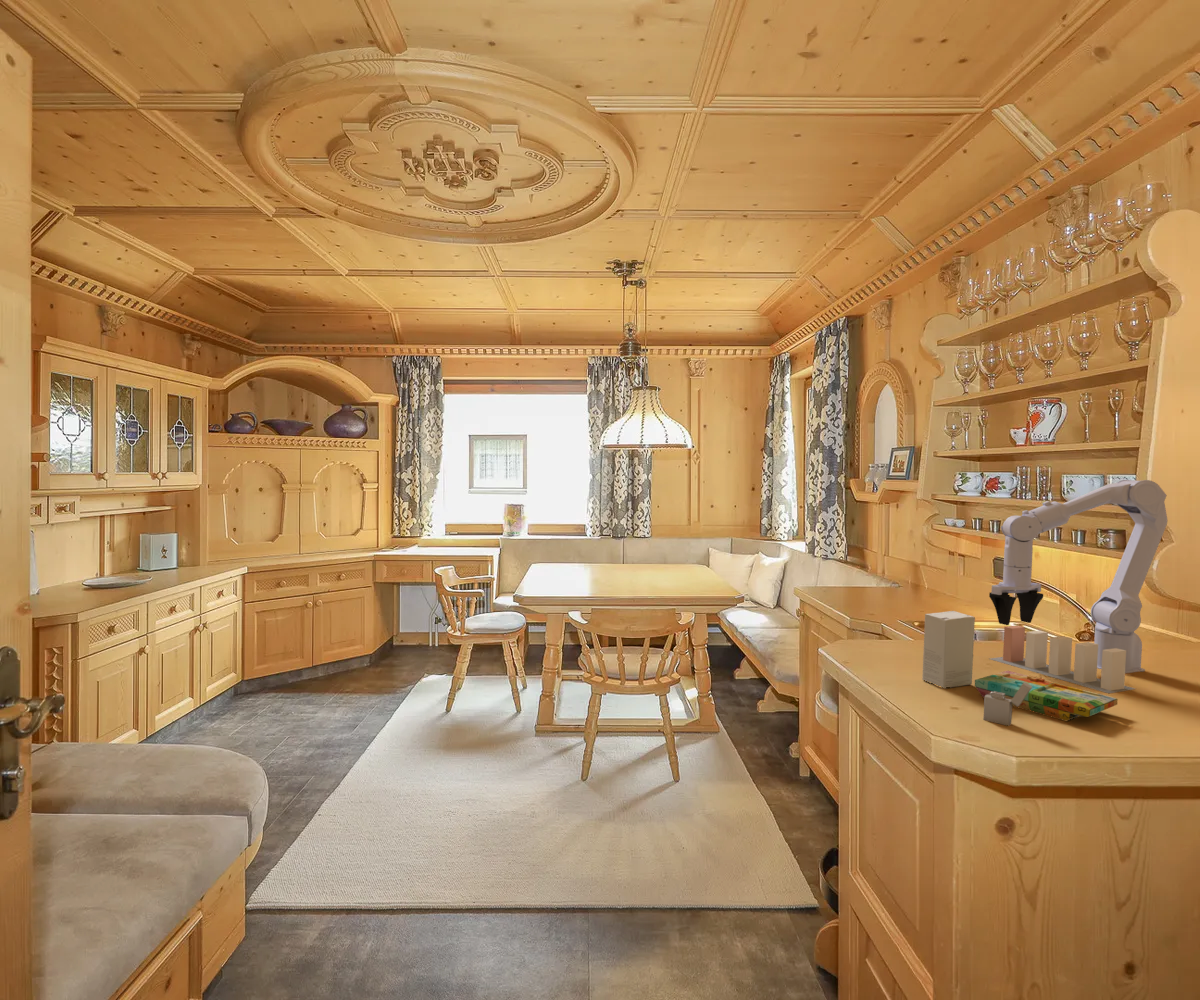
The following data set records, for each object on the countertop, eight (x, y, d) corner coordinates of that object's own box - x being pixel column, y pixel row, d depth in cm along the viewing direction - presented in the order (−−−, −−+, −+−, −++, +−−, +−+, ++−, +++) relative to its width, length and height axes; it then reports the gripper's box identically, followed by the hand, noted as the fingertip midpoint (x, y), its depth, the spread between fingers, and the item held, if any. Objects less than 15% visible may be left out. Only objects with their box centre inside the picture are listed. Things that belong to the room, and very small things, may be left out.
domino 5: (1113, 685, 145) (1115, 648, 144) (1124, 688, 143) (1126, 650, 143) (1100, 687, 143) (1102, 649, 143) (1110, 690, 141) (1112, 652, 141)
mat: (1014, 657, 168) (1014, 655, 168) (1136, 690, 143) (1136, 688, 143) (988, 660, 164) (988, 658, 164) (1108, 695, 139) (1108, 693, 139)
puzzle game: (1004, 666, 143) (1117, 694, 126) (1003, 689, 143) (1116, 719, 127) (975, 675, 136) (1090, 704, 120) (974, 698, 137) (1089, 731, 120)
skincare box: (950, 677, 150) (953, 610, 149) (973, 686, 144) (977, 615, 143) (920, 680, 147) (923, 612, 146) (943, 689, 141) (946, 618, 140)
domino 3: (1061, 671, 155) (1063, 636, 155) (1070, 673, 153) (1072, 638, 153) (1048, 672, 153) (1050, 637, 153) (1057, 675, 151) (1059, 639, 151)
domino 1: (1015, 658, 165) (1017, 625, 165) (1023, 660, 163) (1025, 627, 163) (1002, 659, 163) (1004, 626, 163) (1010, 662, 162) (1012, 628, 161)
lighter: (983, 719, 124) (985, 676, 124) (985, 717, 125) (987, 674, 125) (1028, 730, 119) (1030, 685, 119) (1030, 728, 120) (1032, 683, 120)
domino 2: (1037, 664, 160) (1039, 630, 160) (1046, 666, 158) (1047, 632, 158) (1024, 666, 158) (1026, 632, 158) (1033, 668, 156) (1035, 634, 156)
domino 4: (1086, 678, 150) (1088, 641, 150) (1096, 680, 148) (1098, 644, 148) (1073, 680, 148) (1075, 643, 148) (1083, 682, 146) (1085, 645, 146)
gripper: (1022, 563, 169) (1019, 617, 169) (980, 565, 163) (978, 621, 164) (1050, 566, 162) (1048, 623, 163) (1008, 569, 157) (1005, 627, 157)
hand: (1014, 623), depth 163 cm, fingers open, 7 cm apart
